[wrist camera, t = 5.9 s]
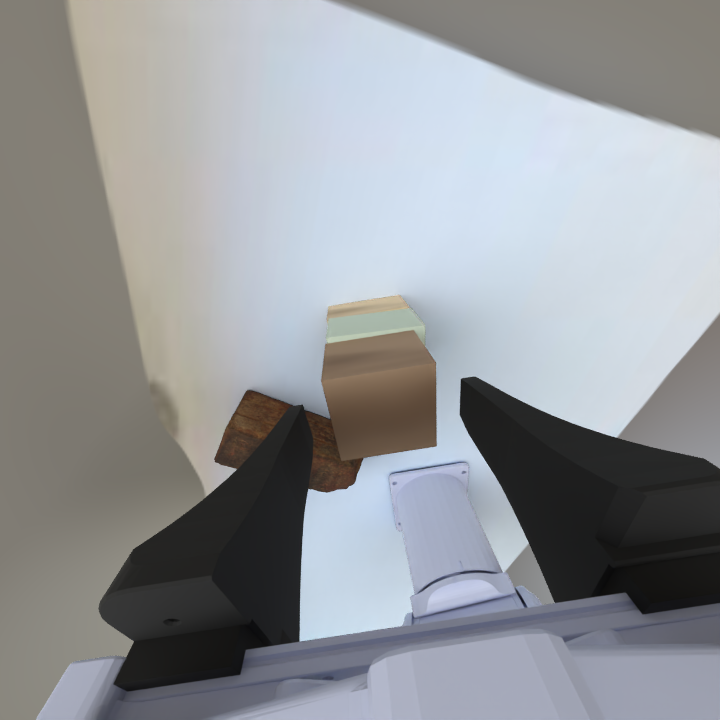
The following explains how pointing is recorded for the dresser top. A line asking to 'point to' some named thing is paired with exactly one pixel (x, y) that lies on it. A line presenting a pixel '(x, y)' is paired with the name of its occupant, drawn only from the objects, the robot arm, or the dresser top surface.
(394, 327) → the sage block
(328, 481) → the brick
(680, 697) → the robot arm
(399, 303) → the oak block
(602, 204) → the dresser top surface
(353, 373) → the walnut block
